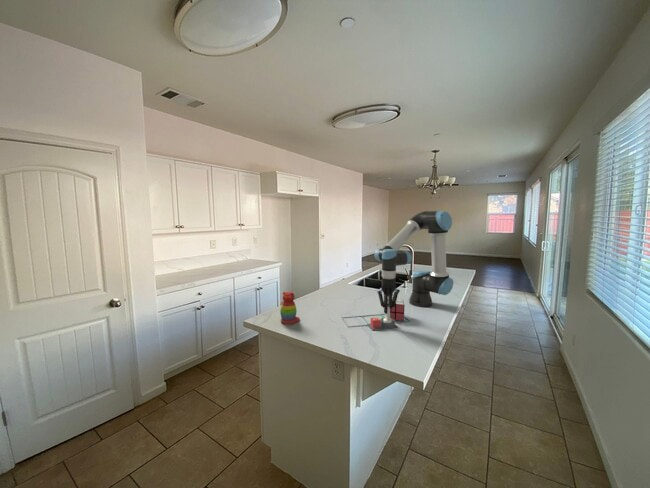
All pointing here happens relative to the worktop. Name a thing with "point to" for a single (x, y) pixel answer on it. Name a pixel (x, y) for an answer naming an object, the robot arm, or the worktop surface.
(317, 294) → the worktop surface
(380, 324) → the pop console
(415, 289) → the robot arm
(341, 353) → the worktop surface
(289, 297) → the stacking bear
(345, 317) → the track
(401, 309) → the puzzle cube
